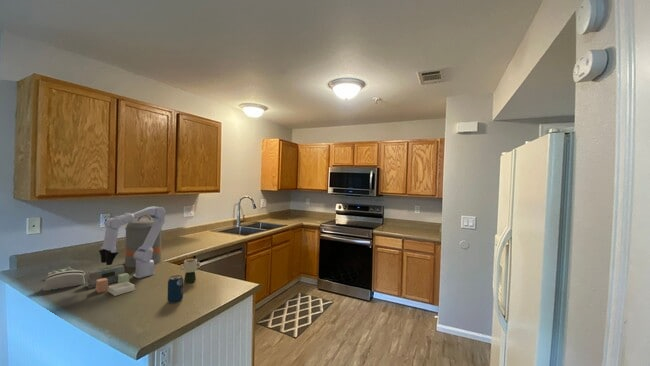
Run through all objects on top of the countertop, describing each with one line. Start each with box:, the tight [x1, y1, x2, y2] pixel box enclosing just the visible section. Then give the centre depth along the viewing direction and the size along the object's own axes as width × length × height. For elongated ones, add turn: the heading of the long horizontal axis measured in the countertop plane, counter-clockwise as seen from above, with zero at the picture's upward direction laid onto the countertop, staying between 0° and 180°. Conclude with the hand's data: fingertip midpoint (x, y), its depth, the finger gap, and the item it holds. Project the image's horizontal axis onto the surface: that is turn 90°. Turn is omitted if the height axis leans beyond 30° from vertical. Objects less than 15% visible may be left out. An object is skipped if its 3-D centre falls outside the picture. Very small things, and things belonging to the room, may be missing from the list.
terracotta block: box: [95, 278, 109, 294], centre depth 145 cm, size 4×4×6 cm
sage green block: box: [117, 272, 130, 284], centre depth 154 cm, size 4×4×6 cm
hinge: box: [43, 269, 86, 292], centre depth 149 cm, size 17×5×10 cm, turn 131°
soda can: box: [167, 274, 184, 304], centre depth 136 cm, size 7×7×12 cm
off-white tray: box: [107, 281, 136, 297], centre depth 146 cm, size 9×9×3 cm
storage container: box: [124, 215, 163, 269], centre depth 194 cm, size 22×22×35 cm
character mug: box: [179, 258, 201, 284], centre depth 161 cm, size 11×7×13 cm, turn 123°
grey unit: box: [84, 264, 126, 289], centre depth 157 cm, size 18×6×8 cm, turn 147°
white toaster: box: [47, 266, 87, 276], centre depth 163 cm, size 14×6×15 cm
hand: (106, 263), depth 151 cm, fingers open, 7 cm apart
